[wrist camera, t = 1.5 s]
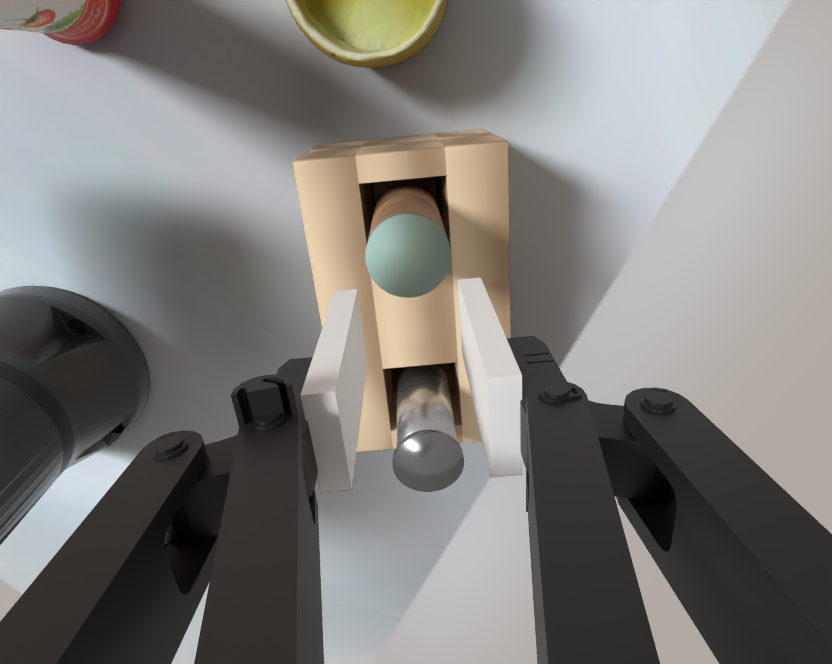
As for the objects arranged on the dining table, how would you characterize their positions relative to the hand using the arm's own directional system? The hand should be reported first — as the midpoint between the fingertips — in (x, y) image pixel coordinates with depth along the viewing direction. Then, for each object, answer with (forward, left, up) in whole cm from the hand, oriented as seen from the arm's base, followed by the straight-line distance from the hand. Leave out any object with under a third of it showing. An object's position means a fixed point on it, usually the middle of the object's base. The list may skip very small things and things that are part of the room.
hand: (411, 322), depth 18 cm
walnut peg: (0, 0, -18) cm, 18 cm away
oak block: (0, -6, -25) cm, 25 cm away
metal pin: (0, -12, -18) cm, 21 cm away
